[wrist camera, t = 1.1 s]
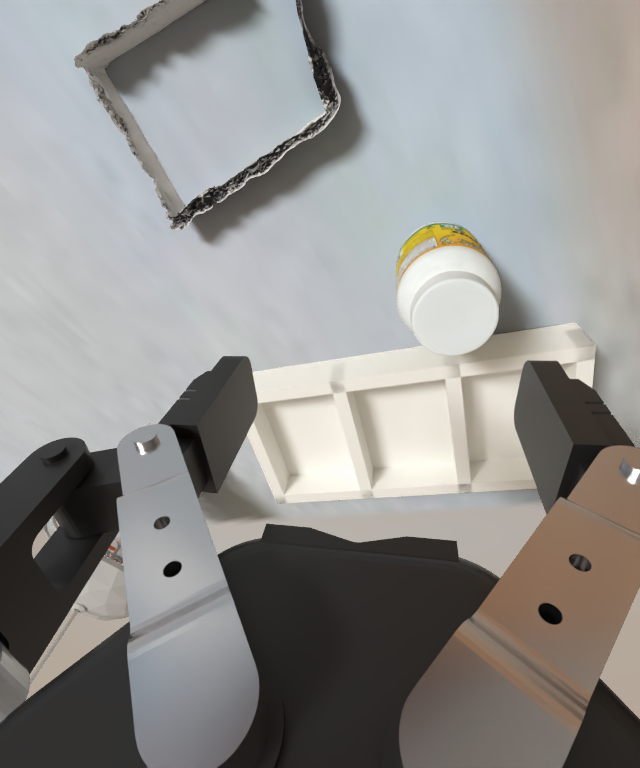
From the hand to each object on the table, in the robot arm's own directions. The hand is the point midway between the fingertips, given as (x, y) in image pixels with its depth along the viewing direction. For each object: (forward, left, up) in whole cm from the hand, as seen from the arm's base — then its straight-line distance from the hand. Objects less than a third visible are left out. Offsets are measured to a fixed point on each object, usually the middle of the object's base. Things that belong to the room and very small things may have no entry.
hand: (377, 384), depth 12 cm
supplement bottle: (-3, +2, -18) cm, 18 cm away
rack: (+1, +14, -18) cm, 23 cm away
